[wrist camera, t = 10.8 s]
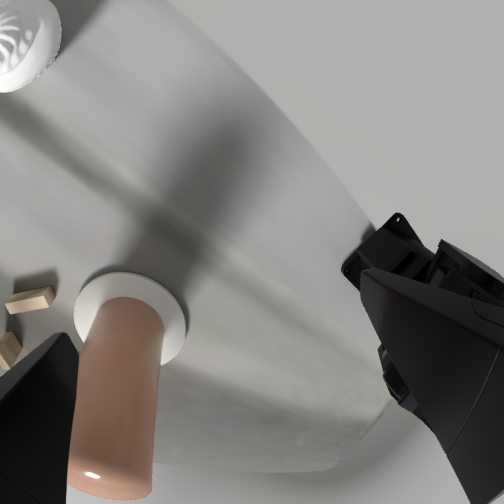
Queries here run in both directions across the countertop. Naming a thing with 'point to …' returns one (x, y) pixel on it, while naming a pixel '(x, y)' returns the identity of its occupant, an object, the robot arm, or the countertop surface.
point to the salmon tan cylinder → (117, 402)
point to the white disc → (138, 289)
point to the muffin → (27, 41)
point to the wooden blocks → (9, 346)
